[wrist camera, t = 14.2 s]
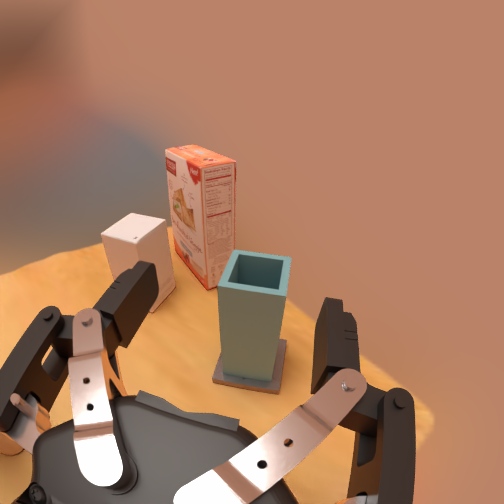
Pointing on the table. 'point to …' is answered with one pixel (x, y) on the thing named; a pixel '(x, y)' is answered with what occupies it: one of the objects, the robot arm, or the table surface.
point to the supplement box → (141, 249)
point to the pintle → (253, 383)
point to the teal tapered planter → (252, 312)
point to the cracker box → (202, 209)
